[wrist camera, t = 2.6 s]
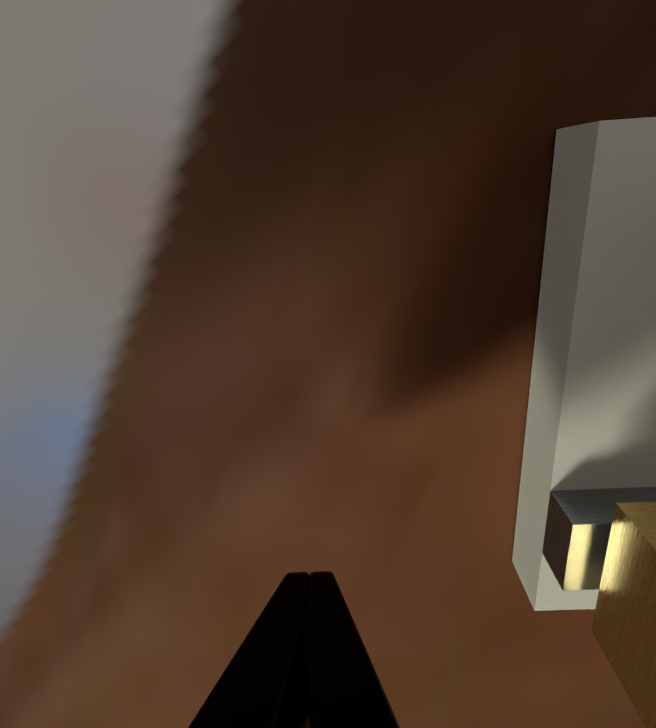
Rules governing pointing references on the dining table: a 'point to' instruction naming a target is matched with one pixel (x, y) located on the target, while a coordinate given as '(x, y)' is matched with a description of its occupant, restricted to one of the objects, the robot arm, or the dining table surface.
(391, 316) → the dining table surface
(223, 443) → the dining table surface
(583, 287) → the plate
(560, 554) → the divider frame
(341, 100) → the dining table surface
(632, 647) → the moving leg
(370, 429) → the dining table surface
